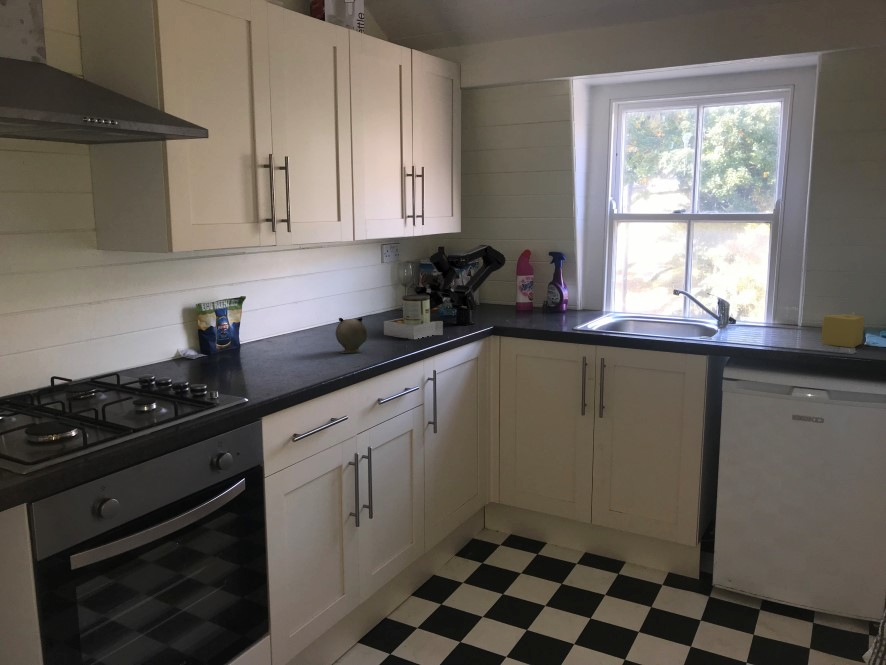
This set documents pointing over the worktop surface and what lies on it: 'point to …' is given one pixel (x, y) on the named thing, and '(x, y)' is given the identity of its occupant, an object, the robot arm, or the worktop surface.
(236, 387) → the worktop surface
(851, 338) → the cheese
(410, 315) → the coffee can
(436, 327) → the grey bent block
